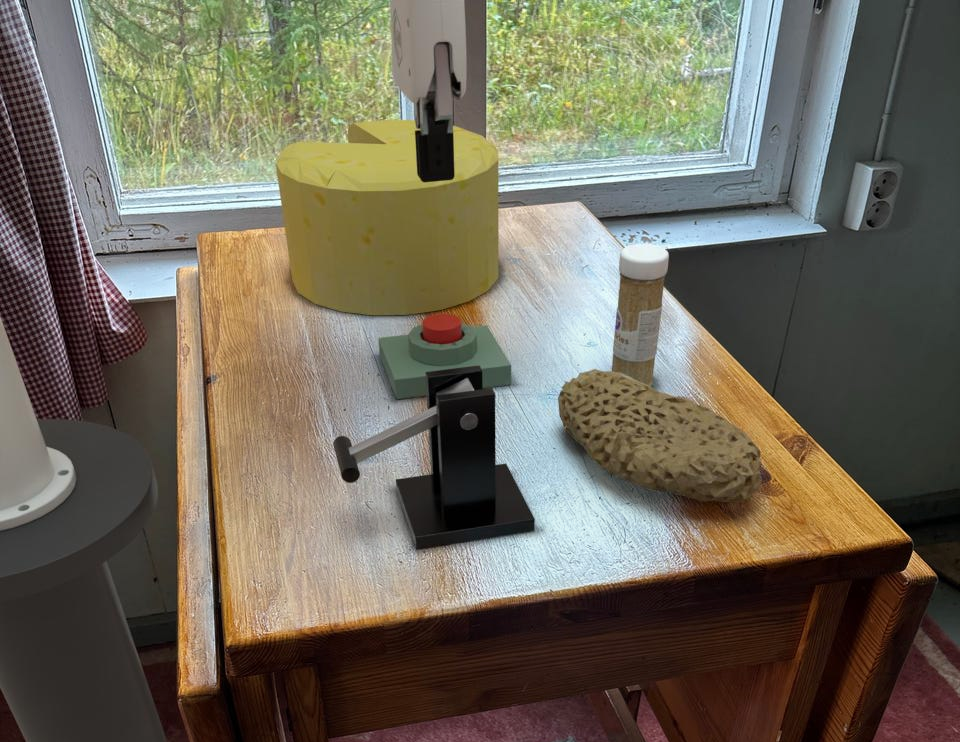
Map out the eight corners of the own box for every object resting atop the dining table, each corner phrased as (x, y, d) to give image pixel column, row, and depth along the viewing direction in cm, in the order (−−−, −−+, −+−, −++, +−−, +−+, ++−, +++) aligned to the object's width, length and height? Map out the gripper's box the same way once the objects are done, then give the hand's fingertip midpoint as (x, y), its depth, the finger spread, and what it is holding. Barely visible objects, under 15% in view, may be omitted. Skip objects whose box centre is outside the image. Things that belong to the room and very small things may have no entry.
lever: (349, 490, 76) (335, 467, 74) (340, 458, 79) (327, 435, 78) (489, 423, 75) (478, 398, 73) (474, 393, 79) (463, 369, 77)
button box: (396, 399, 98) (393, 362, 95) (379, 357, 105) (376, 321, 102) (511, 384, 100) (511, 347, 97) (487, 344, 107) (486, 308, 104)
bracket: (416, 549, 79) (406, 418, 71) (396, 490, 85) (385, 365, 77) (534, 530, 80) (538, 401, 72) (506, 474, 87) (506, 350, 79)
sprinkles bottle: (601, 378, 100) (611, 246, 92) (639, 369, 102) (653, 239, 93) (623, 397, 97) (636, 262, 88) (662, 388, 99) (679, 254, 90)
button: (427, 348, 98) (426, 331, 97) (419, 332, 101) (418, 316, 100) (465, 343, 99) (465, 327, 98) (457, 327, 102) (456, 311, 101)
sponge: (541, 445, 93) (633, 518, 76) (551, 362, 89) (651, 420, 73) (662, 446, 97) (774, 515, 81) (677, 366, 94) (798, 422, 77)
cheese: (290, 244, 131) (273, 121, 121) (481, 231, 134) (480, 110, 124) (294, 323, 112) (273, 185, 102) (516, 306, 114) (518, 170, 104)
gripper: (364, -74, 82) (382, 159, 94) (396, -52, 71) (411, 208, 84) (451, -78, 84) (457, 153, 96) (495, -57, 73) (495, 200, 85)
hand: (435, 178), depth 90 cm, fingers closed
